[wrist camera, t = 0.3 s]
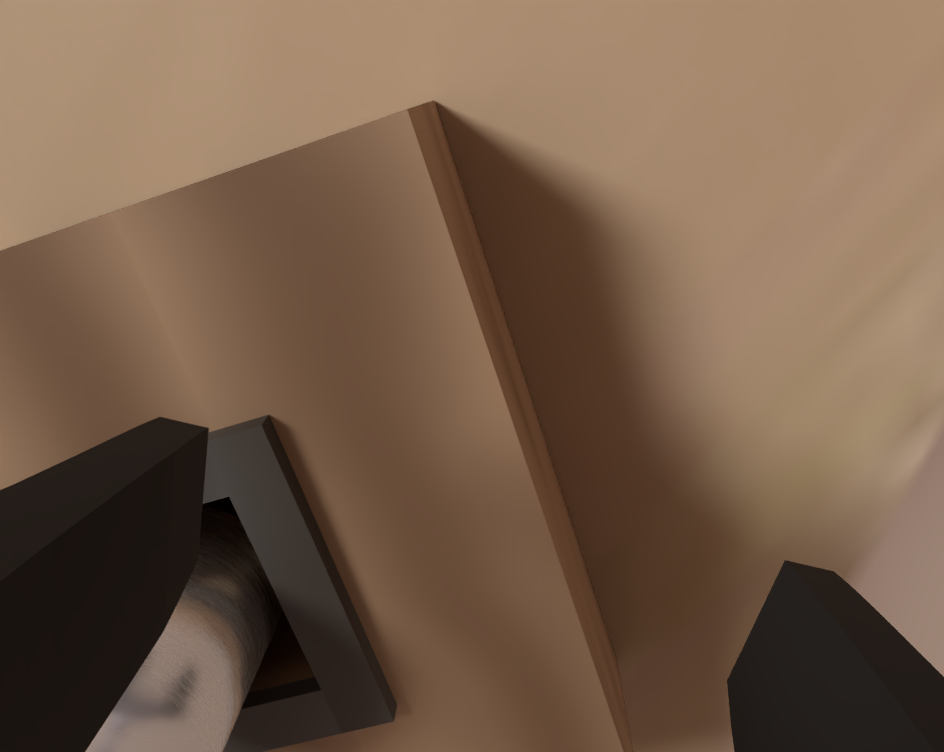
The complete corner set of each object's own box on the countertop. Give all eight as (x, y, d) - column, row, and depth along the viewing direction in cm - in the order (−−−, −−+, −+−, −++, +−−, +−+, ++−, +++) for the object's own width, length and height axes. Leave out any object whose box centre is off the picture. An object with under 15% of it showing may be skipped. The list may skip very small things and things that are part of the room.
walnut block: (120, 777, 26) (22, 953, 21) (-163, 308, 21) (-387, 385, 16) (617, 663, 23) (647, 830, 18) (434, 100, 18) (403, 110, 13)
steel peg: (155, 673, 19) (40, 866, 14) (76, 530, 18) (-78, 691, 13) (312, 633, 19) (245, 822, 14) (242, 483, 17) (142, 634, 13)
